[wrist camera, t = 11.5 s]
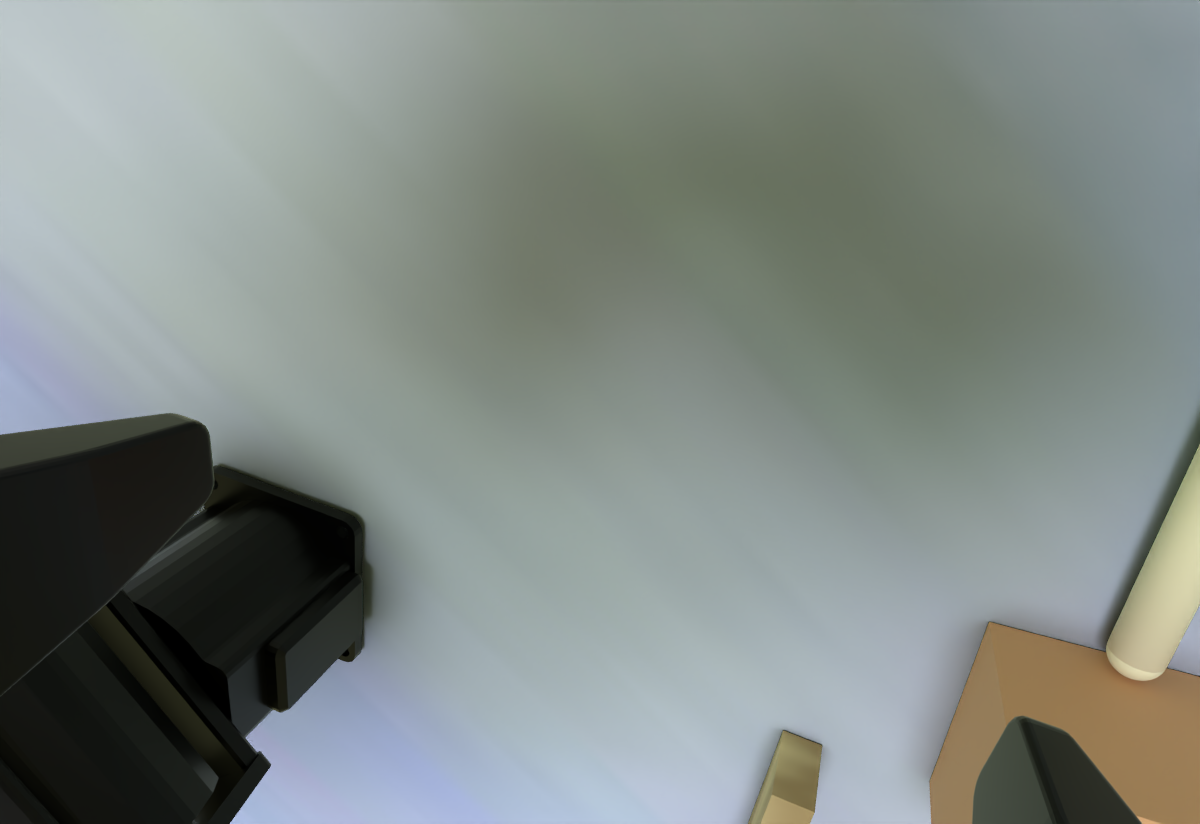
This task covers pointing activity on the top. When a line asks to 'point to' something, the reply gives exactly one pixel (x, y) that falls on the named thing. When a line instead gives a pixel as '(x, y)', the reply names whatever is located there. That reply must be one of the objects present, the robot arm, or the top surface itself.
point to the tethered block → (1098, 689)
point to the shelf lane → (789, 783)
